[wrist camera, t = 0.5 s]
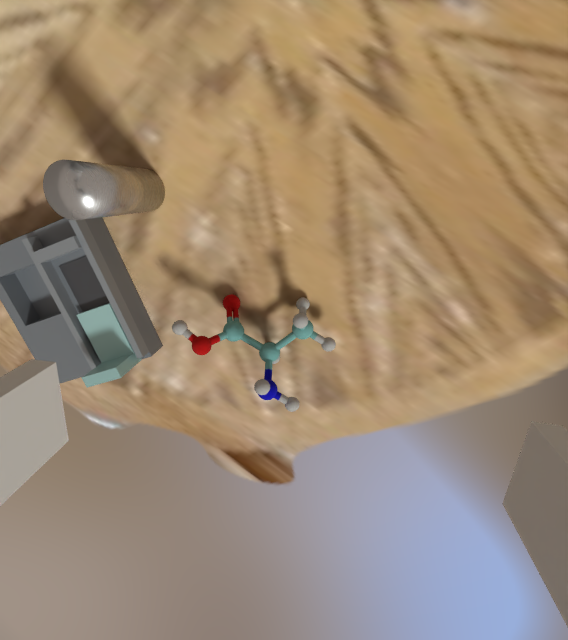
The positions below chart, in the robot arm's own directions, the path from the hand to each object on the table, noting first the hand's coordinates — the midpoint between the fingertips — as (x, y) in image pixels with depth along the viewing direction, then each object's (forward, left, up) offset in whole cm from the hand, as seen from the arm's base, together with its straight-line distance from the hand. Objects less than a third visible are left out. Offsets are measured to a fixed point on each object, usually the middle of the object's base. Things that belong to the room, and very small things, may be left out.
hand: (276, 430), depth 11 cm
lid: (0, -20, -22) cm, 29 cm away
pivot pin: (-11, -12, -24) cm, 29 cm away
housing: (-4, -23, -24) cm, 34 cm away
